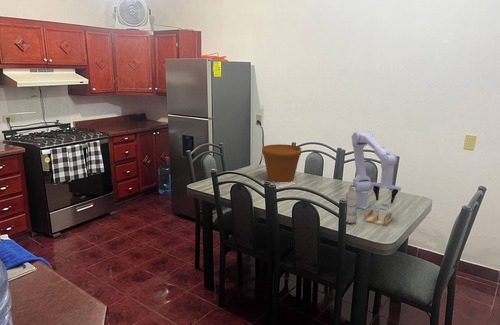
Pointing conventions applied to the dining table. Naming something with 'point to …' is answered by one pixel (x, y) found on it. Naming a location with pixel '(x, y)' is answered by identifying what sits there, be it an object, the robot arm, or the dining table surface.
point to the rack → (373, 218)
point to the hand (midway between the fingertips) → (384, 201)
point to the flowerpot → (281, 161)
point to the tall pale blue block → (383, 212)
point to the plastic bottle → (352, 204)
